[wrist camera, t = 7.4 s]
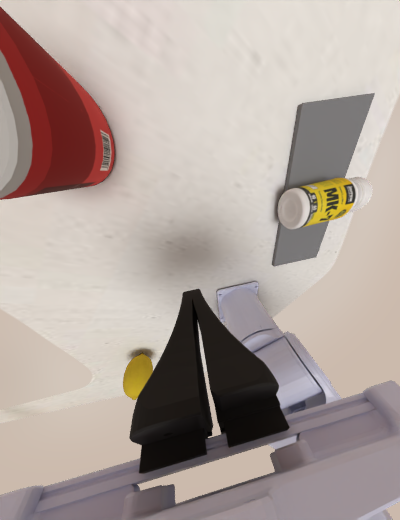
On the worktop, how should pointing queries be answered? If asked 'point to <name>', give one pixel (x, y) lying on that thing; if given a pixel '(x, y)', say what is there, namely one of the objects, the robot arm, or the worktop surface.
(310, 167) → the mat
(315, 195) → the supplement bottle
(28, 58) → the canned food
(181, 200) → the worktop surface
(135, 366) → the lemon
